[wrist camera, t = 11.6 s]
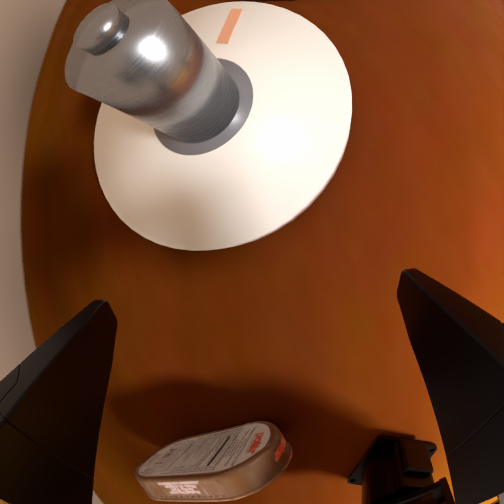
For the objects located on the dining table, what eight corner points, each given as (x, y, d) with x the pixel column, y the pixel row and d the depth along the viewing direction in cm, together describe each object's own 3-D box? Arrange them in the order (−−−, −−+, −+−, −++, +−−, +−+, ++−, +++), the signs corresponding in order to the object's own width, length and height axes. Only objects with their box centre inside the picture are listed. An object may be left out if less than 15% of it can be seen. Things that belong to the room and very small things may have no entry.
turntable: (306, 288, 20) (303, 294, 18) (86, 212, 25) (71, 211, 23) (369, 30, 17) (370, 15, 15) (154, 21, 22) (143, 11, 20)
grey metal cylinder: (214, 155, 19) (92, 90, 8) (151, 129, 20) (33, 78, 9) (254, 80, 18) (177, -31, 7) (187, 63, 19) (95, -17, 8)
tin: (175, 457, 25) (135, 503, 17) (159, 436, 26) (114, 480, 18) (301, 430, 21) (282, 500, 13) (285, 403, 22) (259, 471, 14)
